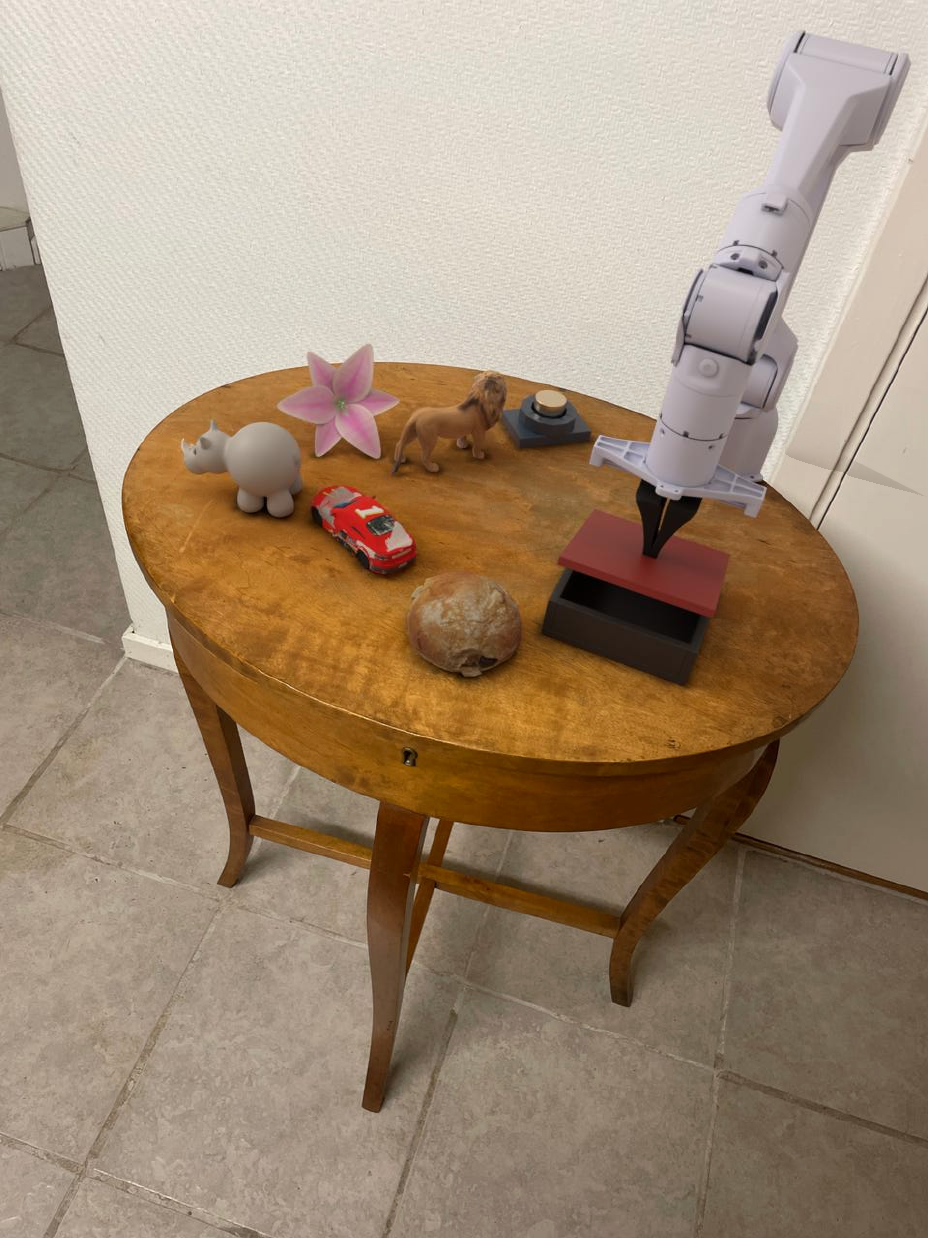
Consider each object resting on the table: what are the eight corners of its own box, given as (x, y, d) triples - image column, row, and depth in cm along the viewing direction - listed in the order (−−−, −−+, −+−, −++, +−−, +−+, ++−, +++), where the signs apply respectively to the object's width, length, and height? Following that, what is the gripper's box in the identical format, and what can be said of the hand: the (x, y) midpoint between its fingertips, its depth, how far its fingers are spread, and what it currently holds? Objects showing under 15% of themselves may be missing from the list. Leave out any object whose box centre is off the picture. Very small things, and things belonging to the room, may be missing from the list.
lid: (712, 618, 75) (715, 610, 75) (556, 564, 78) (559, 555, 77) (727, 561, 87) (730, 554, 87) (592, 516, 90) (594, 508, 90)
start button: (556, 401, 108) (559, 388, 107) (568, 418, 105) (571, 405, 104) (528, 404, 107) (530, 391, 105) (540, 421, 104) (542, 407, 103)
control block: (567, 412, 111) (572, 390, 109) (590, 442, 107) (595, 420, 105) (499, 419, 109) (502, 396, 107) (519, 450, 104) (523, 427, 102)
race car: (301, 511, 92) (300, 479, 90) (346, 494, 95) (347, 462, 92) (377, 586, 86) (379, 553, 83) (423, 565, 89) (426, 533, 86)
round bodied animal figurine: (200, 464, 96) (192, 393, 90) (311, 485, 96) (310, 415, 90) (173, 504, 91) (162, 432, 85) (290, 527, 90) (287, 456, 84)
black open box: (684, 686, 81) (697, 653, 78) (540, 633, 84) (548, 599, 81) (713, 594, 90) (727, 561, 87) (583, 549, 93) (592, 515, 90)
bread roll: (422, 703, 81) (447, 675, 74) (382, 599, 83) (402, 563, 76) (518, 671, 85) (551, 642, 78) (477, 573, 87) (505, 537, 80)
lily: (263, 446, 101) (272, 403, 93) (305, 365, 106) (318, 316, 97) (362, 493, 103) (380, 456, 94) (400, 411, 108) (420, 368, 99)
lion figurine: (480, 427, 107) (490, 357, 101) (510, 449, 104) (522, 379, 98) (377, 465, 99) (381, 392, 93) (407, 490, 97) (413, 417, 90)
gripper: (594, 417, 72) (562, 549, 81) (777, 474, 69) (721, 604, 78) (618, 377, 76) (585, 506, 86) (789, 429, 74) (736, 557, 83)
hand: (651, 550), depth 82 cm, fingers closed
